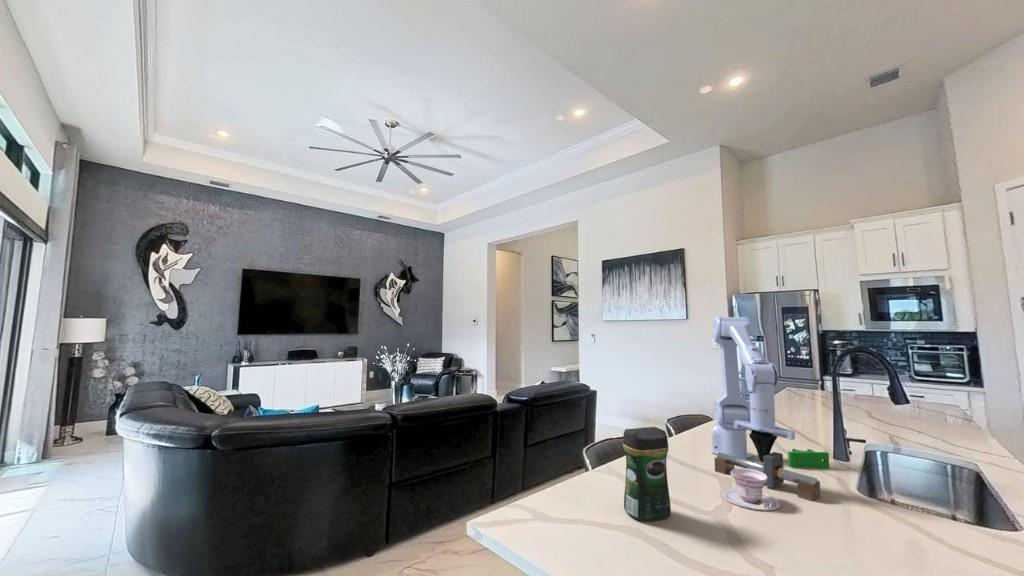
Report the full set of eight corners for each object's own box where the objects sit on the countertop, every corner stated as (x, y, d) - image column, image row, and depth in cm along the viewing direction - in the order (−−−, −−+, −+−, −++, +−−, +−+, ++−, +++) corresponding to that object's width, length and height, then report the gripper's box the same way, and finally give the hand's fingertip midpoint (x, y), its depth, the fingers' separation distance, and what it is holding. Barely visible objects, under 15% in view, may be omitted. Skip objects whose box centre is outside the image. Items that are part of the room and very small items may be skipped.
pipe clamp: (820, 464, 127) (819, 449, 127) (829, 469, 123) (828, 453, 123) (782, 463, 127) (782, 448, 127) (790, 468, 123) (790, 452, 123)
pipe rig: (714, 470, 120) (714, 453, 120) (724, 467, 123) (723, 450, 123) (812, 501, 100) (811, 479, 101) (820, 496, 103) (819, 475, 103)
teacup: (726, 486, 109) (725, 462, 109) (781, 498, 102) (780, 472, 103) (718, 503, 99) (718, 476, 100) (779, 517, 92) (777, 488, 93)
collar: (764, 485, 108) (763, 456, 109) (775, 479, 112) (774, 451, 113) (772, 487, 107) (771, 458, 107) (783, 482, 110) (782, 453, 111)
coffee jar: (654, 503, 98) (652, 422, 100) (676, 519, 91) (675, 431, 92) (617, 508, 95) (616, 425, 97) (637, 525, 88) (636, 434, 89)
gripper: (727, 406, 116) (729, 456, 115) (785, 416, 104) (787, 472, 103) (740, 403, 120) (742, 451, 119) (797, 412, 108) (799, 466, 107)
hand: (764, 461), depth 112 cm, fingers closed
